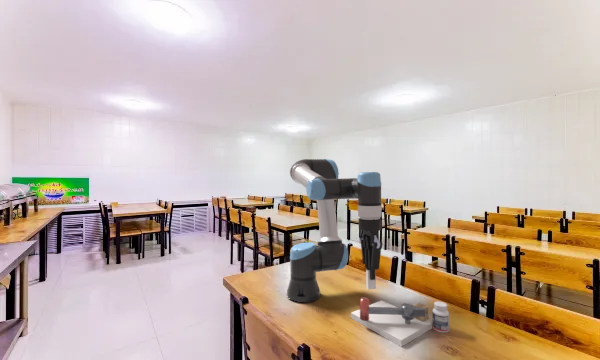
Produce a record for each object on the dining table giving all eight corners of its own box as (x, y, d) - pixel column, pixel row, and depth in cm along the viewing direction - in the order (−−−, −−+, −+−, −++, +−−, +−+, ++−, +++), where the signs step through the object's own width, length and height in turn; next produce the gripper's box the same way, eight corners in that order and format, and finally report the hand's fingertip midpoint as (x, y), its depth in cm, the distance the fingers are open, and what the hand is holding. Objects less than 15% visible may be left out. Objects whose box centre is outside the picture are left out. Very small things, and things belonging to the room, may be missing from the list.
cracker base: (350, 317, 104) (350, 308, 104) (381, 304, 114) (381, 295, 114) (401, 346, 86) (401, 334, 86) (432, 328, 96) (432, 317, 96)
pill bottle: (434, 323, 99) (434, 299, 99) (450, 328, 96) (450, 303, 96) (430, 329, 95) (430, 304, 95) (447, 335, 92) (447, 308, 92)
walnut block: (413, 317, 100) (413, 305, 100) (419, 314, 102) (418, 302, 102) (422, 321, 97) (422, 309, 97) (428, 318, 99) (428, 306, 99)
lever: (360, 321, 96) (360, 301, 96) (359, 315, 100) (359, 296, 100) (426, 323, 94) (425, 303, 94) (422, 317, 98) (421, 298, 98)
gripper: (389, 220, 86) (391, 295, 85) (371, 215, 98) (373, 280, 98) (367, 221, 84) (368, 297, 84) (352, 215, 97) (353, 282, 97)
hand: (371, 288), depth 91 cm, fingers closed
